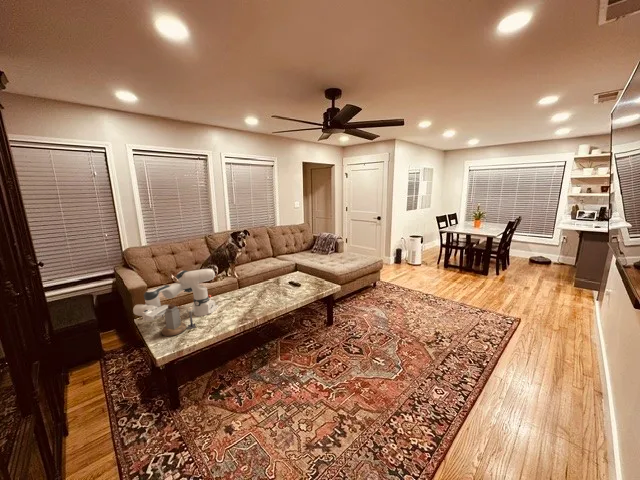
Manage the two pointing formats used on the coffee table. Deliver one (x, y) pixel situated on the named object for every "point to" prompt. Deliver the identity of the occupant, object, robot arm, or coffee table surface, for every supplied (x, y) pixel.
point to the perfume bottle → (172, 317)
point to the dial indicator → (190, 310)
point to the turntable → (174, 332)
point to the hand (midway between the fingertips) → (167, 313)
